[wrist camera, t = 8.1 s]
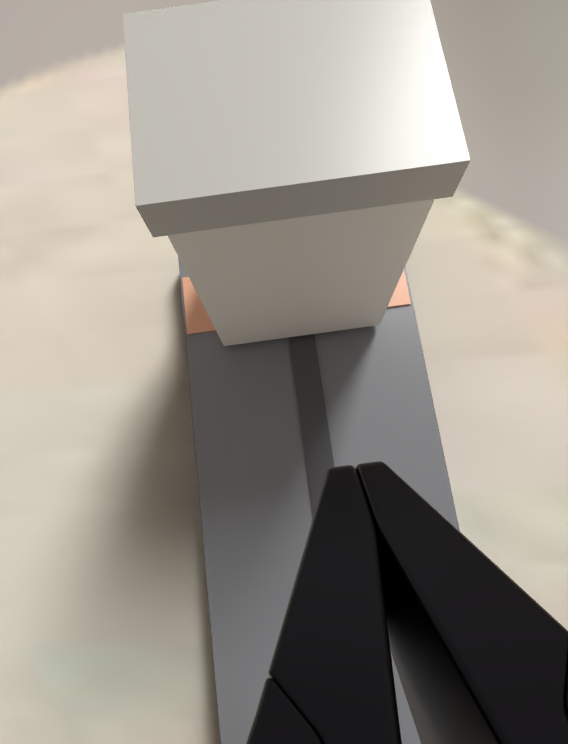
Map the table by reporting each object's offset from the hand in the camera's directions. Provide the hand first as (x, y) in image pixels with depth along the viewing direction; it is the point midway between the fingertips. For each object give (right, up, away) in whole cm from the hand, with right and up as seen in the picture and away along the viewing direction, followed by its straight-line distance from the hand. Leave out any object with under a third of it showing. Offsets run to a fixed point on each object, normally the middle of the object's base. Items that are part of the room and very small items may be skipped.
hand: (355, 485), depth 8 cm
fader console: (0, -3, +12) cm, 13 cm away
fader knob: (-1, +5, +12) cm, 13 cm away
